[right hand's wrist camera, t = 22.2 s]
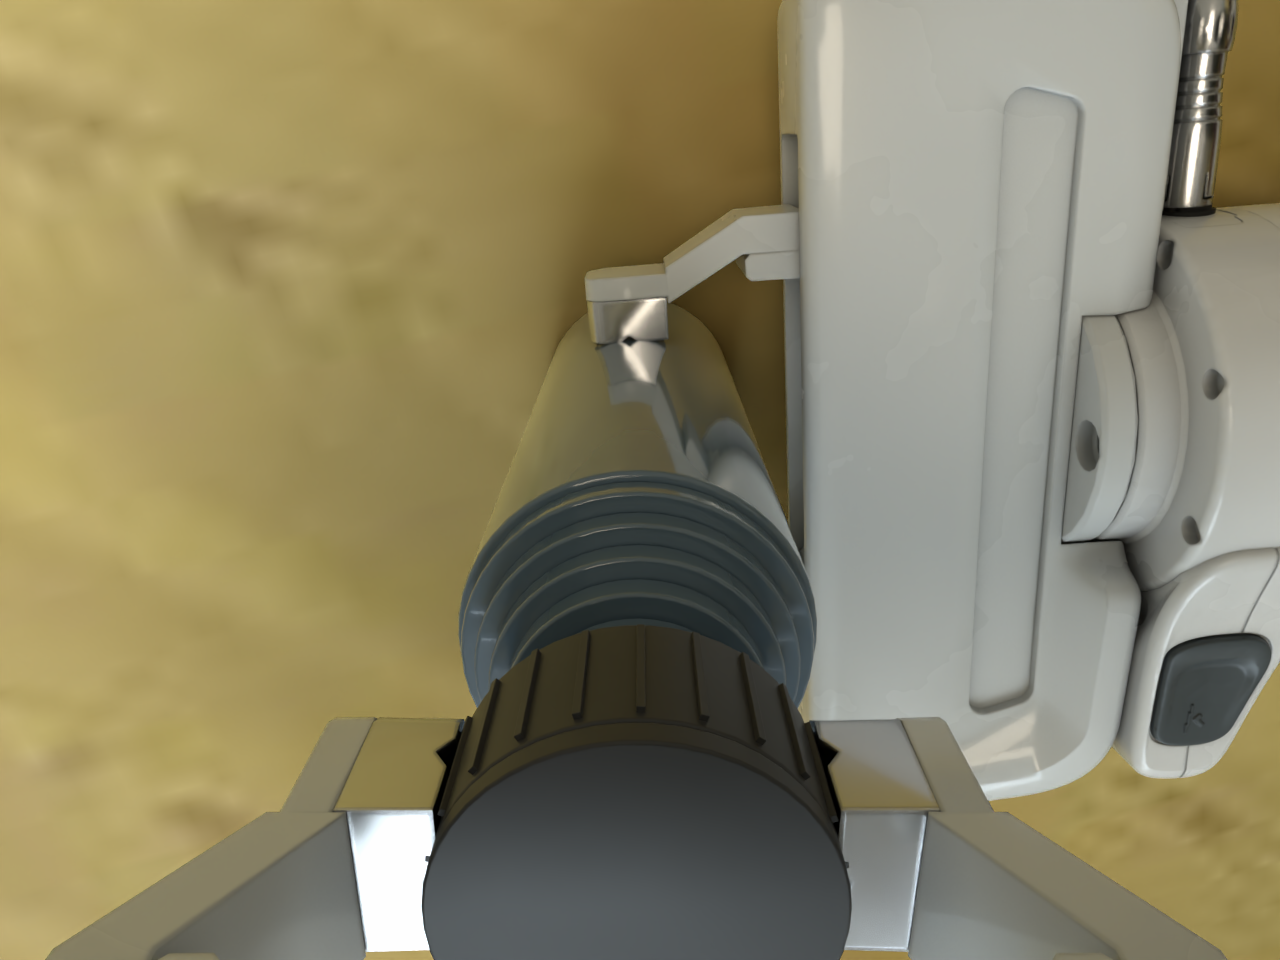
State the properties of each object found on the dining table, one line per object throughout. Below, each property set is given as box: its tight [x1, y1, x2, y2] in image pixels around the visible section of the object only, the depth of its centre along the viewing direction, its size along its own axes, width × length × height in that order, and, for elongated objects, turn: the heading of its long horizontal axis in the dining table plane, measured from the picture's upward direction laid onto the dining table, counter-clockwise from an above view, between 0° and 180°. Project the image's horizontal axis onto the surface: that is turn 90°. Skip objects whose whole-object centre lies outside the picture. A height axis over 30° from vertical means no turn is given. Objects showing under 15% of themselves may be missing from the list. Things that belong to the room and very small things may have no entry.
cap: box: [421, 624, 852, 960], centre depth 9 cm, size 4×4×2 cm
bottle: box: [458, 302, 817, 709], centre depth 18 cm, size 5×5×19 cm
